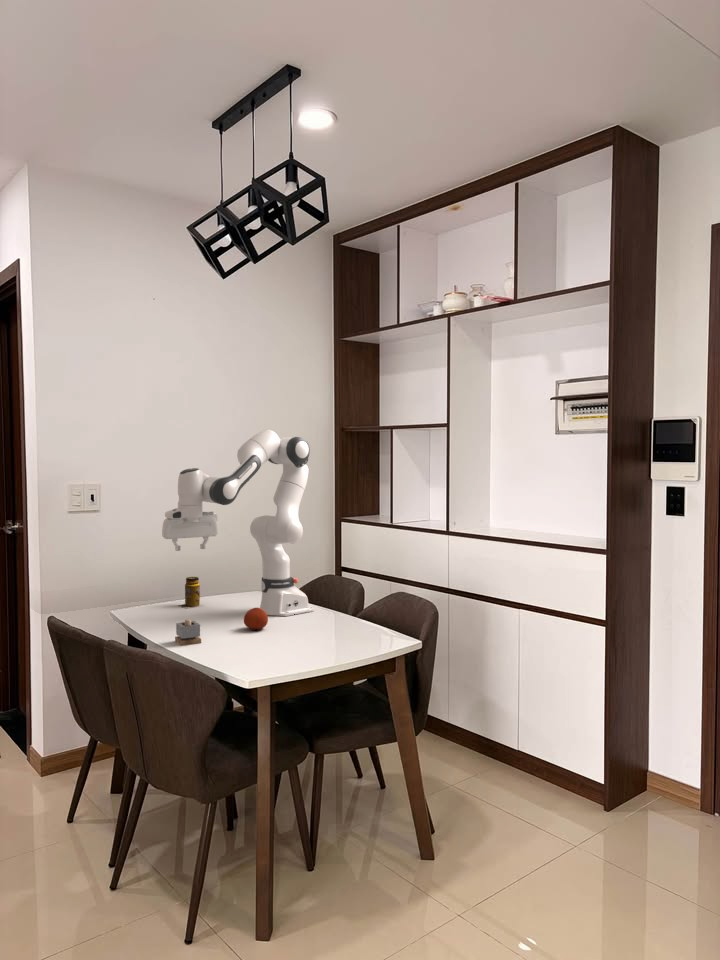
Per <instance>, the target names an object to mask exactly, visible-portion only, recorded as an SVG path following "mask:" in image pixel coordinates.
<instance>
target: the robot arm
mask: <svg viewBox="0 0 720 960" xmlns="http://www.w3.org/2000/svg"><path fill="white" fill-rule="evenodd" d="M310 450H311V449H310V445H309V442H308V441H307V440H306V439H305V438H303V437H299V436H294V437H293V436H285V437H279V436H278V434H277V433H276V432H275V431H273V430H271V429H265V430H262V431H260V432H258V433H256V434H254V435H253V436H252V437H250V438H249V439H248V440H246V441H245V442H244V443H243V444H242V445H241V446H240V447H239V448H238V450H237V454H236V455H237V456H236V457H237V460H238V461H237V462H239V464H240V465H239V466H238V467H237V468H236V469H235V470H234V471H233V472H231V474H230V475H228V476H223V477H217V476H216V477H215V476H211V475H210V474H209V475H208V474H207V473H204V472H203V471H202V470H201V469H200V468H198V467H197V468H194V467H192V468H186V469H183V470H182V471H180V472H179V475H178V477H177V478H178V479H177V494H178V503H177V507H176V508H173V509H171V510H167V511H166V512H164V517H165V519H164V520H163V523H162V526H161V528H162V529H161V530H162V531H161V536H162V537H163V538H164V539H165V540H171V542H172V543H173V546H174V547H175V548H174V549H175V552H178V551H181V545H178V543H177V542H178V539H190V538H193V539H194V538H202V539H203V541H202V543H200V544H199V549H201V550H206V545H207V543H208V541H209V537H217V535H219V534H218V532H219V530H218V524H217V522H218V515H217V513H216V512H214V511H203V502H205V503H212V504H216V505H217V504H218V505H222V506H227V505H230V504H232V503H233V502H234V501H235V500H236V498H237V497H238V495H239V493H240V491H241V489H242V488H243V487H244V486H246V484H247V483H248V482H249V481H250V480H251V479H252V478H253V477H254V476H255V475H256V473H258V471H259V470H260V468H261V467H262V466H263V465H264V464H265V463H266V462H267V461H268V462H269V463H271V464H274V465H282V474H281V476H280V479H279V481H278V484H277V486H276V490H275V492H274V495H273V499H272V500H273V503H274V504H275V506H276V513H275V515H261V516H256V517H254V519H252V521H251V523H250V526H249V528H250V529H249V530H250V531H249V532H250V534H251V536H252V538H254V539H255V541H256V543H257V545H258V548H259V552H260V555H261V560H262V561H261V563H262V564H261V566H262V577H261V582H260V583H261V584H260V585H261V592H262V593H261V600H260V605H259V608H260V609H262V610H263V611H265V612H266V614H267V616H280V617H288V616H293V615H294V614H295V615H299V614H305V612H306V613H310V612H314V610H315V608H314V606H312V605H311V604H309V599H308V596H307V595H306V593H305V592H303V591H302V590H300V589H299V588H298V587H297V586H296V584H298V583H299V579H298V578H296V577H291V559H290V557H289V554H287V553H286V552H285V550H284V547H283V546H287V545H289V546H290V545H295V544H298V543H299V542H300V541H301V539H302V538H303V535H304V528H303V524H302V523H301V521H300V517H299V511H300V510H299V509H300V507H301V502H302V499H303V495H304V493H305V490H306V486H307V484H308V479H309V478H308V477H309V471H310V470H309V466H308V465H307V464H308V462H309V457H310V453H311V451H310Z"/></svg>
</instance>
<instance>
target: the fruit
mask: <svg viewBox="0 0 720 960" xmlns="http://www.w3.org/2000/svg"><path fill="white" fill-rule="evenodd" d="M268 621H269V615H267V614H266V612H265V611H263V610H262V609H260V607H253V608H250V609H249V610H247V612H245V614H244V616H243V624H244V625H245V627H246V628H248V629H250V630H262V629H265V627H266V626H267V625H268Z"/></svg>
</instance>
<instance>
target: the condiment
mask: <svg viewBox="0 0 720 960" xmlns="http://www.w3.org/2000/svg"><path fill="white" fill-rule="evenodd" d="M200 589H201V587H200V581H199V576H186V578H185V584H184V604H178V605H177V607H179V608H183V609H191V608H199V607H203V606H204V605H203V604H200V603H201V602H200V601H201V593H200V592H201V591H200Z"/></svg>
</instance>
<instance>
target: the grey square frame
mask: <svg viewBox="0 0 720 960" xmlns="http://www.w3.org/2000/svg"><path fill="white" fill-rule="evenodd" d="M175 625H176V626H175V628H176V629H175V631H176V632H175V634H176V636H179V637H180V638H182V639H183V638H191V637H201V624H200V623H198V622H197V621H195V620H191V625H187V626H185V621H184V622H183V621H182V622H175Z"/></svg>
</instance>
